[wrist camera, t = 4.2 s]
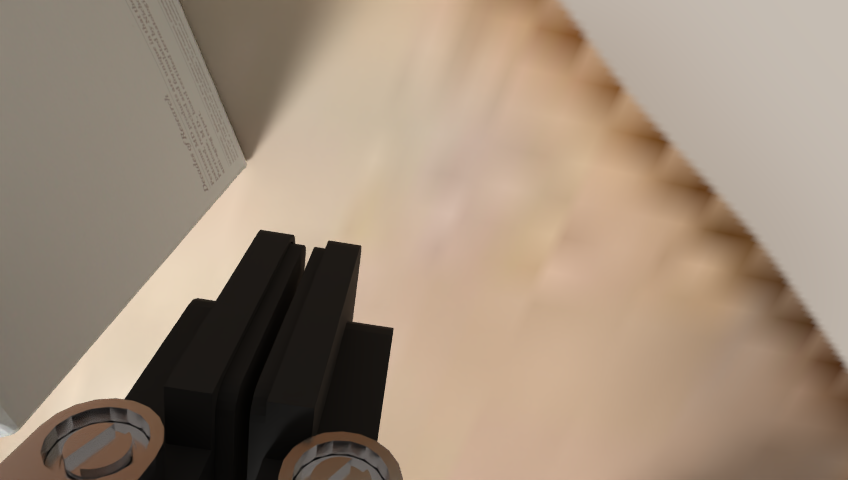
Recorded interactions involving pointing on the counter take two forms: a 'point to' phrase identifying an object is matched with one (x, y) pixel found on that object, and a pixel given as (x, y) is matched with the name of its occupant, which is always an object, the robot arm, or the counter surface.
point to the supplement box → (95, 173)
